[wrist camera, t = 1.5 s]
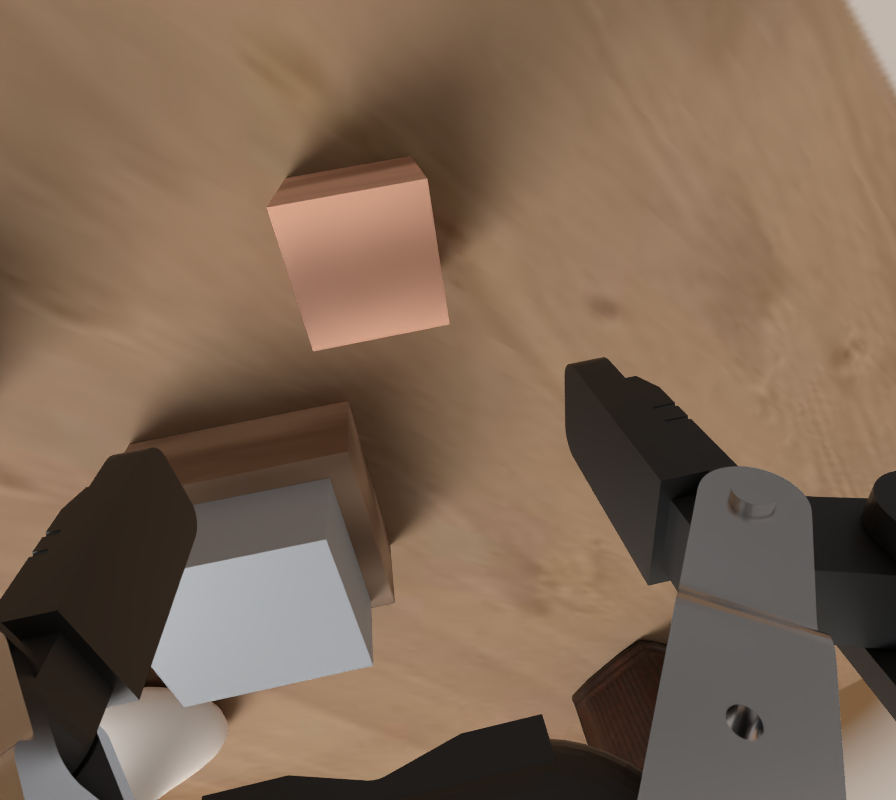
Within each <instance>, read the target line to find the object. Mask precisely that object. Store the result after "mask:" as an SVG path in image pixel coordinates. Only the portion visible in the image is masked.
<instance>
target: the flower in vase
mask: <svg viewBox="0 0 896 800" xmlns="http://www.w3.org/2000/svg"><path fill="white" fill-rule="evenodd" d="M99 726H101V727H102V728H103V729H104V730H105V731H106V733H107V734H108V736H109V738H110V741H111V743H112V746H113V748H114V750H115V753H116V755H117V758H118V760H119V762H120V765H121V767H122V770H123V772H124V774H125V777H126V779H127V782H128V784H129V786H130V789H131V791H132V794H133V796H134V798H135V800H158V799H159V798H160V797H161V796H163V795H164V794H165V793H167V792H168V791H169V790H171V789H172V788H174V787H176V786H177V785H179V784H180V783H182V782H183V781H184V780H186V779H187V778H189V777H190V776H192V775H193V774H194V773H196V772H197V771H199V770H200V769H201V768H202V767H203V766H205V765H206V764H207V763H208V762H209V761H210V760H211V759H212V758H213V757H215V756H216V755H217V753H218V752H219V751H220V749H221V747H222V745H223V744H224V742H225V740H226V738H227V736H228V724H227V721H226V719H225V716H224V714H223V713H222V711H221V709H220V708H219V707H218V706H217V705H216V704H214V703H213V702H212V701H211V702H207V703H202V704H198V705H193V706H189V707H183V705H182V704H181V703H180V702H179V700H178V699H177V698H176V697H175V695H174V694H173V693H172V692H171V691H170V689H169V688H164V687H144V688H143V691H142V694H141V697H140V700H138V701H134V702H130V703H125V704H121V705H116V706H112V707H108V708H106V710H105V712H104V715H103V718H102V720H101V723H100V725H99Z"/></svg>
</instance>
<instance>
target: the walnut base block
mask: <svg viewBox="0 0 896 800" xmlns="http://www.w3.org/2000/svg"><path fill="white" fill-rule="evenodd" d="M152 447H155V448H158V449H159V450H160V451H162V453H163V454H164V455H165V457H166V458H167V460H168V462H169V464H170V465H171V467H172V469H173V471H174V472H175V474H176V476H177V478H178V479H179V481H180V483H181V485H182V486H183V488H184V490H185V492H186V494H187V495H188V497H189V499H190V501H191V502H192V504H193V505H195V504H200V503H205V502H211V501H216V500H221V499H226V498H231V497H236V496H241V495H246V494H251V493H256V492H261V491H266V490H272V489H277V488H282V487H287V486H292V485H297V484H302V483H307V482H312V481H317V480H322V479H327V478H330V480H331V483H332V486H333V489H334V492H335V495H336V498H337V501H338V504H339V507H340V510H341V513H342V516H343V519H344V522H345V525H346V528H347V531H348V534H349V537H350V540H351V543H352V546H353V549H354V552H355V555H356V558H357V561H358V564H359V567H360V570H361V573H362V576H363V579H364V582H365V585H366V588H367V591H368V594H369V597H370V600H371V608H375V607H379V606H384V605H388V604H392V603H395V598H394V586H393V574H392V562H391V550H390V543H389V539H388V536H387V533H386V529H385V526H384V522H383V519H382V515H381V512H380V508H379V505H378V502H377V498H376V495H375V491H374V488H373V484H372V481H371V477H370V474H369V471H368V467H367V464H366V460H365V457H364V453H363V450H362V446H361V443H360V440H359V436H358V433H357V429H356V426H355V422H354V419H353V415H352V412H351V409H350V405H349V402H348V401H345V402H340V403H335V404H330V405H325V406H320V407H315V408H309V409H304V410H299V411H294V412H289V413H284V414H279V415H274V416H269V417H264V418H259V419H254V420H249V421H244V422H239V423H234V424H229V425H224V426H219V427H214V428H209V429H204V430H199V431H194V432H189V433H184V434H179V435H173V436H168V437H163V438H158V439H153V440H148V441H143V442H138V443H133V444H129V446H128V447H127V449H126V451H125V452H124V453H127V452H132V451H137V450H142V449H146V448H152Z"/></svg>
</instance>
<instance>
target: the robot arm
mask: <svg viewBox="0 0 896 800" xmlns="http://www.w3.org/2000/svg"><path fill="white" fill-rule="evenodd" d="M565 428H566V436H567V441H568V445H569V448H570V451H571V453H572V456H573V458H574V459H575V461H576V463H577V464H578V466H579V468H580V470H581V471H582V473H583V475H584V476H585V478H586V480H587V482H588V483H589V485H590V487H591V488H592V490H593V492H594V494H595V495H596V497H597V499H598V500H599V502H600V504H601V506H602V507H603V509H604V511H605V512H606V514H607V516H608V518H609V519H610V521H611V523H612V524H613V526H614V528H615V529H616V531H617V533H618V535H619V536H620V538H621V540H622V541H623V543H624V545H625V547H626V548H627V550H628V552H629V553H630V555H631V557H632V559H633V560H634V562H635V564H636V565H637V567H638V569H639V571H640V572H641V574H642V576H643V577H644V579H645V581H646V583H647V584H648V585H653V584H657V583H661V582H666V581H670V580H671V582H672V584H673V585H674V587H675V588H676V590H677V591H678V592H677V596H676V602H675V607H674V612H673V617H672V622H671V628H670V633H669V638H668V643H667V648H666V654H665V659H664V664H663V669H662V674H661V680H660V685H659V690H658V695H657V700H656V706H655V711H654V716H653V721H652V726H651V732H650V737H649V742H648V747H647V753H646V758H645V763H644V768H643V771H642V770H640V769H639V768H637V767H636V766H634V765H632V764H631V763H629V762H627V761H625V760H623V759H621V758H619V757H617V756H615V755H613V754H611V753H609V752H607V751H604V750H601V749H598V748H595V747H592V746H589V745H586V744H581V743H577V742H572V741H567V740H555V739H549V736H548V733H547V729H546V726H545V723H544V719H543V716H542V714H540V715H536V716H532V717H528V718H524V719H520V720H516V721H511V722H507V723H503V724H499V725H495V726H491V727H487V728H483V729H478V730H474V731H470V732H466V733H462V734H460V735H458V736H456V737H454V738H452V739H451V740H449V741H447V742H445V743H444V744H442V745H440V746H438V747H436V748H435V749H433V750H431V751H429V752H428V753H426V754H424V755H422V756H421V757H419V758H417V759H415V760H413V761H412V762H410V763H408V764H406V765H405V766H403V767H401V768H399V769H397V770H396V771H394V772H392V773H390V774H389V775H387V776H385V777H383V778H380V779H377V780H372V781H364V780H349V779H334V778H318V777H303V776H284V777H280V778H276V779H272V780H268V781H264V782H259V783H255V784H251V785H247V786H243V787H239V788H235V789H230V790H226V791H222V792H218V793H214V794H210V795H206V796H202V800H846V791H845V776H844V763H843V749H842V735H841V720H840V706H839V692H838V678H837V664H836V654H835V648H834V645H837V646H838V648H839V649H840V650H841V652H842V653H843V654H844V655H845V657H846V658H847V659H848V661H849V662H850V663H851V664H852V666H853V667H854V668H855V669H856V671H857V672H858V673H859V675H860V676H861V677H862V678H863V680H864V681H865V682H866V684H867V685H868V686H869V687H870V689H871V690H872V691H873V692H874V694H875V695H876V696H877V697H878V699H879V700H880V701H881V703H882V704H883V705H884V706H885V708H886V709H887V710H888V712H889V713H890V714H891V715H892V717H893V718H894V719H895V721H896V471H894V472H890V473H887V474H885V475H882V476H881V477H880V478H879V479H877V481H876V482H875V484H874V486H873V489H872V491H871V493H870V496H869V498H868V499H867V498H836V497H811V496H805V495H804V494H803V493H802V492H801V491H800V490H799V489H798V488H797V487H796V486H795V485H793V484H792V483H791V482H789V481H787V480H786V479H784V478H782V477H780V476H778V475H776V474H773V473H771V472H768V471H765V470H761V469H757V468H751V467H741V466H737V465H736V464H735V463H734V462H733V461H732V460H731V459H730V458H729V457H728V456H727V455H726V454H725V453H724V452H723V451H722V450H721V449H720V448H719V447H718V446H717V445H716V444H715V443H714V442H713V441H712V440H711V439H710V438H709V437H708V436H707V435H706V434H705V433H704V432H703V430H702V429H701V428H700V427H699V426H698V425H697V424H696V423H695V422H694V421H693V420H692V419H688V415H687V414H686V413H685V412H684V411H683V410H682V409H681V408H680V407H679V406H675V402H674V401H673V400H672V399H671V398H670V397H669V396H668V395H667V394H666V393H665V392H664V391H663V390H662V389H661V388H660V387H658V386H656V385H654V384H652V383H650V382H647V381H645V380H643V379H641V378H639V377H637V376H633V377H628V378H625V377H624V376H623V375H622V374H621V373H620V372H619V371H618V370H617V368H616V367H615V366H614V365H613V364H612V363H611V362H610V361H609V360H608V359H607V358H605V357H602V358H597V359H592V360H587V361H582V362H577V363H572V364H568V365H567V366H566V369H565ZM196 533H197V517H196V513H195V509H194V506H193V504H192V502H191V501H190V499H189V497H188V495H187V494H186V492H185V490H184V488H183V486H182V485H181V483H180V481H179V479H178V478H177V476H176V474H175V472H174V471H173V469H172V467H171V465H170V464H169V462H168V460H167V458H166V457H165V455H164V454H163V453H162V451H160V450H159V449H158V448H155V447H152V448H146V449H142V450H137V451H132V452H127V453H122V454H117V455H113V456H110V457H109V458H108V459H107V460H106V461H105V463H104V465H103V466H102V468H101V469H100V471H99V472H98V474H97V475H96V477H95V478H94V480H93V482H92V483H91V485H90V486H89V487H86V488H85V489H84V490H83V491H82V492H81V493H79V494H78V495H77V496H76V497H75V498H74V499H73V500H72V501H70V502H69V503H68V504H67V505H66V506H65V507H64V508H63V509H61V511H60V512H59V514H58V515H57V517H56V518H55V520H54V521H53V523H52V524H51V526H50V527H49V528H48V530H47V531H46V537H42V539H41V540H40V542H39V543H38V545H37V546H36V548H35V549H34V551H33V552H32V553H33V557H29V558H28V559H27V561H26V562H25V564H24V565H23V567H22V568H21V570H20V571H19V573H18V574H17V576H16V577H15V579H14V580H13V581H12V583H11V584H10V586H9V587H8V589H7V590H6V592H5V593H4V595H3V596H2V598H1V599H0V800H135V798H134V796H133V794H132V791H131V789H130V786H129V784H128V782H127V779H126V777H125V774H124V772H123V770H122V767H121V765H120V762H119V760H118V758H117V755H116V753H115V750H114V748H113V746H112V743H111V741H110V738H109V736H108V734H107V733H106V731H105V730H104V729H103V728H102V727H101V726H99V725H100V723H101V720H102V718H103V715H104V712H105V710H106V708H108V707H112V706H116V705H121V704H125V703H130V702H134V701H138V700H140V697H141V694H142V691H143V688H144V685H145V683H146V680H147V677H148V674H149V671H150V668H151V665H152V662H153V659H154V656H155V654H156V651H157V648H158V645H159V642H160V639H161V636H162V633H163V630H164V627H165V624H166V622H167V619H168V616H169V613H170V610H171V607H172V604H173V601H174V598H175V595H176V593H177V590H178V587H179V584H180V581H181V578H182V575H183V572H184V569H185V566H186V563H187V561H188V558H189V555H190V552H191V549H192V546H193V543H194V540H195V537H196Z"/></svg>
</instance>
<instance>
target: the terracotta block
mask: <svg viewBox="0 0 896 800" xmlns="http://www.w3.org/2000/svg"><path fill="white" fill-rule="evenodd" d="M267 210H268V213H269V217H270V220H271V223H272V226H273V229H274V232H275V235H276V238H277V241H278V244H279V247H280V251H281V254H282V257H283V260H284V263H285V266H286V269H287V272H288V275H289V278H290V281H291V285H292V288H293V291H294V294H295V297H296V300H297V303H298V306H299V309H300V312H301V315H302V319H303V322H304V325H305V328H306V331H307V334H308V337H309V340H310V343H311V346H312V349H313V351H318V350H323V349H328V348H333V347H338V346H343V345H348V344H353V343H358V342H363V341H368V340H373V339H378V338H383V337H388V336H393V335H398V334H403V333H408V332H413V331H418V330H424V329H429V328H434V327H439V326H444V325H449V318H448V311H447V305H446V298H445V292H444V285H443V278H442V272H441V265H440V259H439V252H438V245H437V239H436V232H435V226H434V219H433V212H432V206H431V199H430V193H429V186H428V180H427V177H426V176H425V175H424V173H423V172H422V171H421V169H420V168H419V167H418V165H417V164H416V162H415V161H414V160H413V158H412V157H411V156H407V157H401V158H395V159H390V160H384V161H379V162H373V163H367V164H362V165H356V166H351V167H345V168H339V169H334V170H328V171H323V172H317V173H312V174H306V175H300V176H295V177H289V178H285V180H284V181H283V183H282V185H281V186H280V188H279V189H278V191H277V192H276V194H275V195H274V197H273V199H272V200H271V202H270V203H269V205H268V206H267Z"/></svg>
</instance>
